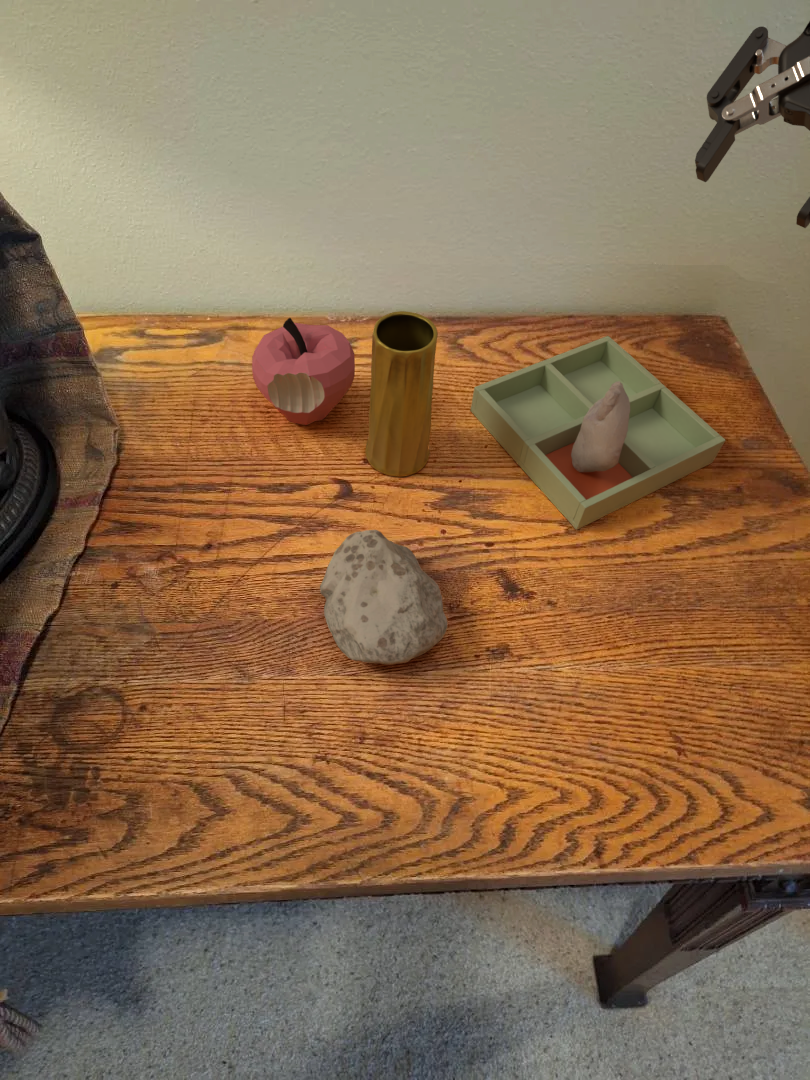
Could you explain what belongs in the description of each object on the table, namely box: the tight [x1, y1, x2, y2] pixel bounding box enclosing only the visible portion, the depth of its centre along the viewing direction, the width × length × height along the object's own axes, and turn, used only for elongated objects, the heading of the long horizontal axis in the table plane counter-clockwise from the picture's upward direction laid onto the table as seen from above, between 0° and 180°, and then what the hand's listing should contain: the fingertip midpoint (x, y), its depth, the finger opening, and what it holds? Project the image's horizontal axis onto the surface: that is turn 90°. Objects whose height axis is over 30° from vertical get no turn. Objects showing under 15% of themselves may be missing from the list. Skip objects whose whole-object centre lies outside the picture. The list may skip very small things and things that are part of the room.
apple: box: [251, 317, 356, 426], centre depth 68 cm, size 10×9×10 cm
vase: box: [364, 310, 438, 478], centre depth 63 cm, size 6×6×14 cm
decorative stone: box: [319, 529, 449, 665], centre depth 57 cm, size 12×11×5 cm
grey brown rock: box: [571, 381, 630, 472], centre depth 64 cm, size 6×4×10 cm, turn 0°
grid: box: [470, 335, 726, 531], centre depth 71 cm, size 17×17×3 cm
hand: (749, 198), depth 55 cm, fingers open, 8 cm apart
